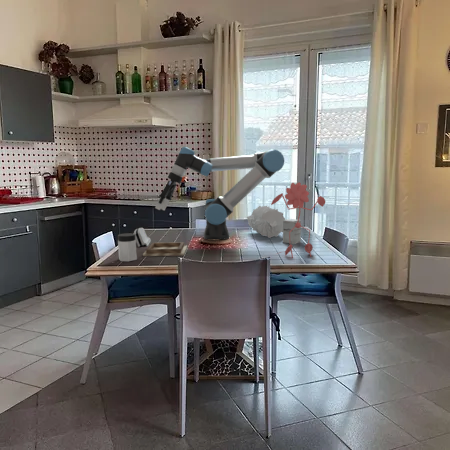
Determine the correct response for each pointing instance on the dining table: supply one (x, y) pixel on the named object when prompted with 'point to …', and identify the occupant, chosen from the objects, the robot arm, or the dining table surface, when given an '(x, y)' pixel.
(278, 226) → the grey rounded scaly piece
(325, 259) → the dining table surface
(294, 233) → the supplement box
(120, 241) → the jar
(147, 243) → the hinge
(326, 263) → the dining table surface
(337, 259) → the dining table surface
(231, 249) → the dining table surface
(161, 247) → the jar stand
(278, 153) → the robot arm
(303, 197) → the figurine
